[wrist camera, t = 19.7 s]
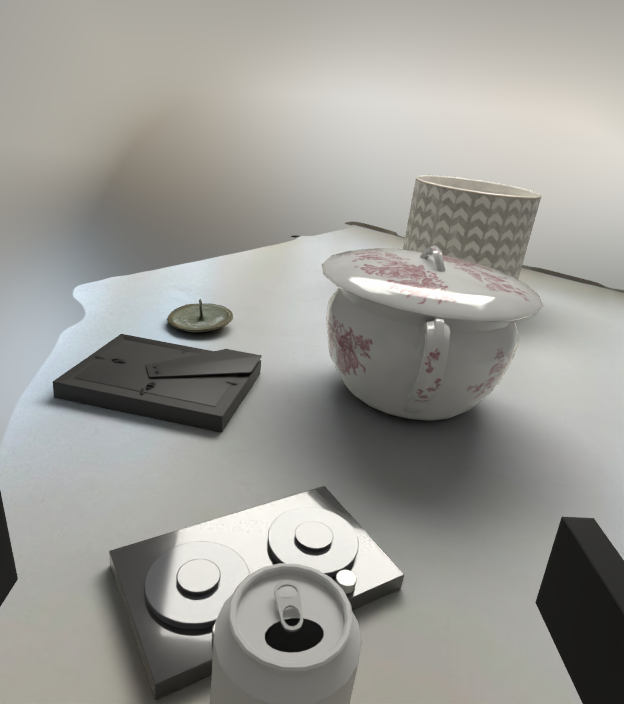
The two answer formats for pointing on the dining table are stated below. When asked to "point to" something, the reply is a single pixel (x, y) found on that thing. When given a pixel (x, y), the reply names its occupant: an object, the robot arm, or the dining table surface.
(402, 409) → the chamber pot
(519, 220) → the planter
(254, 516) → the hob
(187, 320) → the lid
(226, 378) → the picture frame
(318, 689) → the can
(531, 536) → the dining table surface
